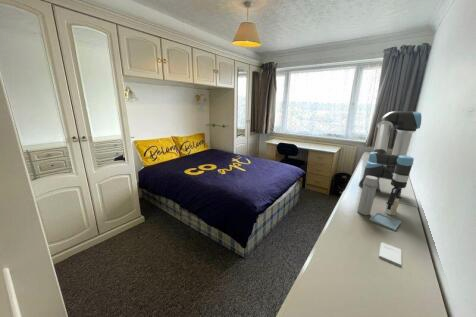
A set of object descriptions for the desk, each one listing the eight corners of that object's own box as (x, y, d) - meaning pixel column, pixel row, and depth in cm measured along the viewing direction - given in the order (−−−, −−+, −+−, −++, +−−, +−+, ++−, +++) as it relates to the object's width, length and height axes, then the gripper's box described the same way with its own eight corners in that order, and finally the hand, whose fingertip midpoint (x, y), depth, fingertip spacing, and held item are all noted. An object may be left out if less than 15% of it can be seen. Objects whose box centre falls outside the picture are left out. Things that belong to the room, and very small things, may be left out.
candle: (383, 211, 129) (386, 198, 126) (388, 210, 131) (392, 197, 128) (391, 216, 124) (395, 202, 121) (397, 214, 126) (401, 200, 123)
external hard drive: (378, 258, 90) (380, 244, 99) (400, 268, 85) (400, 252, 94) (379, 255, 89) (381, 241, 98) (401, 265, 84) (401, 249, 93)
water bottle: (356, 208, 132) (364, 174, 125) (370, 212, 128) (379, 176, 121) (356, 214, 124) (364, 178, 117) (371, 218, 120) (380, 181, 113)
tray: (376, 213, 126) (376, 211, 126) (400, 223, 117) (401, 221, 116) (368, 220, 118) (369, 218, 118) (394, 231, 109) (395, 229, 108)
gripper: (397, 174, 131) (389, 202, 137) (386, 182, 116) (378, 213, 122) (411, 177, 126) (402, 206, 131) (401, 187, 110) (392, 219, 116)
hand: (390, 210), depth 127 cm, fingers open, 13 cm apart
